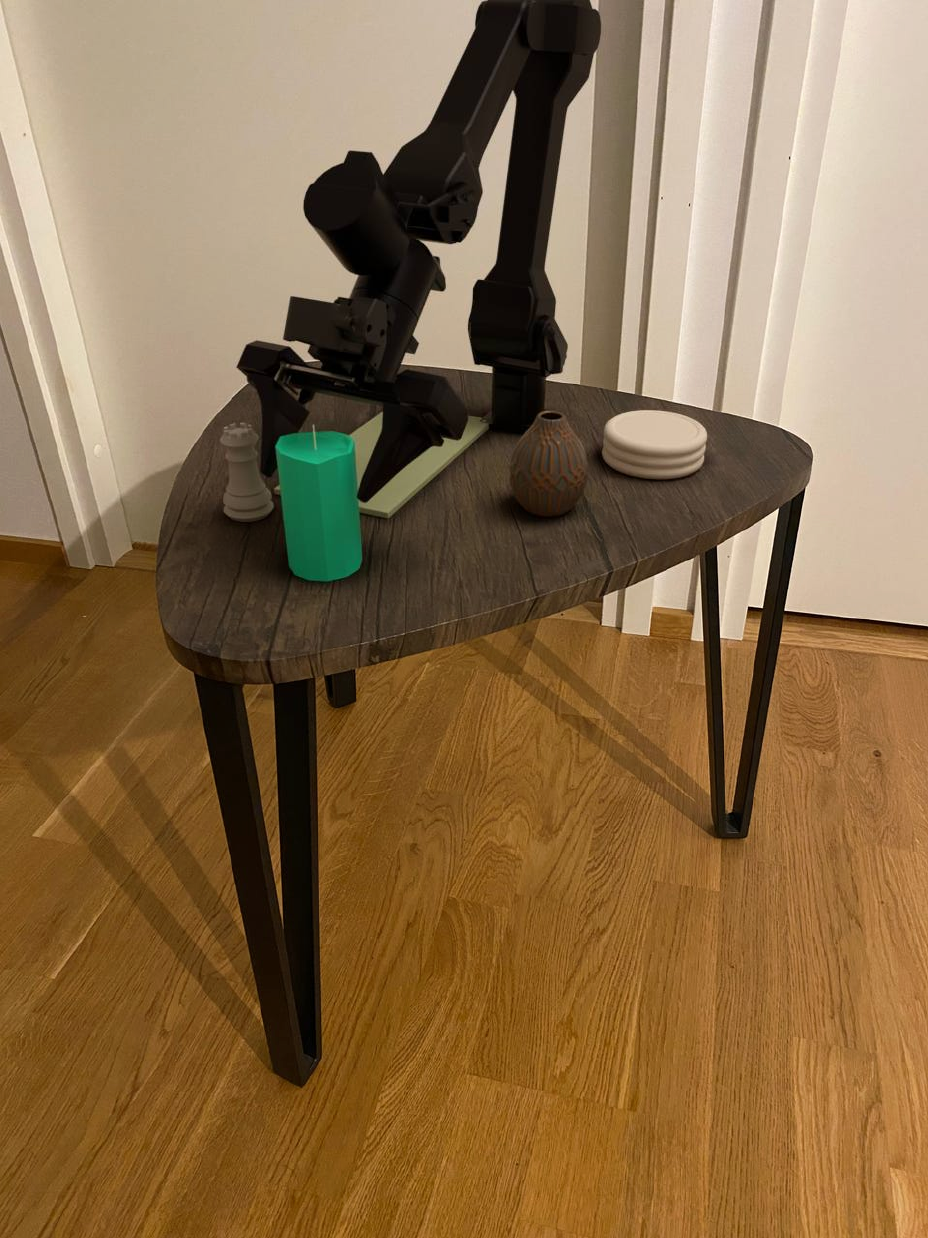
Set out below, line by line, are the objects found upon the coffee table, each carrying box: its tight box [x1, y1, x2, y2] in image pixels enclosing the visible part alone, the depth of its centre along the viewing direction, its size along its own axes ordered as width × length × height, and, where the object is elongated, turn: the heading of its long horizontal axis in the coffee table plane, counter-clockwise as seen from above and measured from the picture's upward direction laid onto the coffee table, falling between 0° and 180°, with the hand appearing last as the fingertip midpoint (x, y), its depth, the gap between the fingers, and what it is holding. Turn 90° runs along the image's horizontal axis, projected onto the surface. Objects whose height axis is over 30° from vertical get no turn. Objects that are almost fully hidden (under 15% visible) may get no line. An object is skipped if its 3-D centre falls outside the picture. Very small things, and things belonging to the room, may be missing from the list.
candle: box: [275, 424, 363, 582], centre depth 77 cm, size 6×6×12 cm
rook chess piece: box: [219, 422, 275, 523], centre depth 86 cm, size 4×4×8 cm
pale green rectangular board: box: [273, 410, 492, 519], centre depth 98 cm, size 24×12×1 cm, turn 156°
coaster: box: [601, 409, 708, 480], centre depth 97 cm, size 10×10×4 cm
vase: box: [509, 409, 589, 517], centre depth 87 cm, size 7×7×9 cm
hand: (311, 487), depth 76 cm, fingers open, 9 cm apart
